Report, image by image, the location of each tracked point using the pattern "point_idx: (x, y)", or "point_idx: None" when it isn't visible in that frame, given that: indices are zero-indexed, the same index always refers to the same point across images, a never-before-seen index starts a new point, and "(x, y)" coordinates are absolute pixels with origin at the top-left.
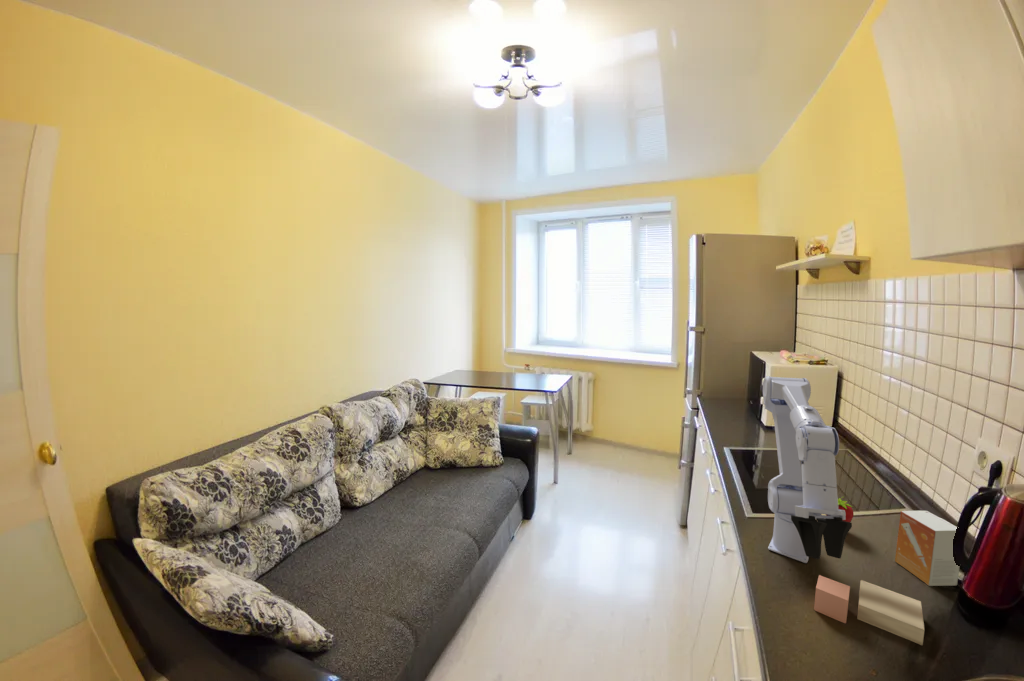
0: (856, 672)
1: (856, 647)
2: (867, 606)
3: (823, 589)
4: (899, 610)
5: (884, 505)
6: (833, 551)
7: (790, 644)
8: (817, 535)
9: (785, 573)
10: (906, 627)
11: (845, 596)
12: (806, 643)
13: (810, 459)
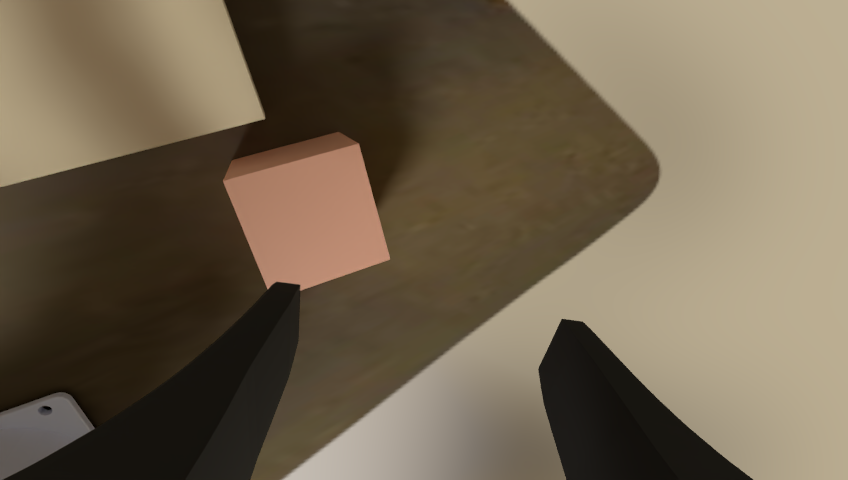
0: (541, 35)
1: (434, 67)
2: (243, 87)
3: (373, 238)
4: None
5: None
6: (287, 339)
7: (569, 193)
8: (733, 467)
9: None
10: None
11: (337, 162)
12: (535, 170)
13: None
